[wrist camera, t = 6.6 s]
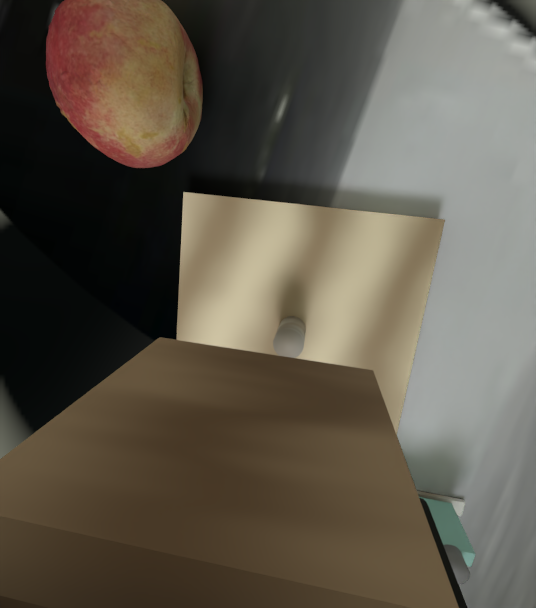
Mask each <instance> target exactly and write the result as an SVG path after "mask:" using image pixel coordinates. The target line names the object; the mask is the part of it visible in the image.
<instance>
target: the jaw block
mask: <svg viewBox="0 0 536 608" xmlns="http://www.w3.org/2000/svg"><path fill="white" fill-rule="evenodd" d="M0 608H459V607H458V604H457V601H456V598H455V596H454V593H453V590H452V587H451V585H450V582H449V579H448V576H447V574H446V571H445V568H444V565H443V562H442V560H441V557H440V554H439V551H438V549H437V546H436V543H435V540H434V538H433V535H432V532H431V529H430V526H429V524H428V521H427V518H426V515H425V513H424V510H423V507H422V504H421V502H420V499H419V496H418V493H417V490H416V488H415V485H414V482H413V479H412V477H411V474H410V471H409V468H408V466H407V463H406V460H405V457H404V454H403V452H402V449H401V446H400V443H399V441H398V438H397V435H396V432H395V430H394V427H393V424H392V421H391V418H390V416H389V413H388V410H387V407H386V405H385V402H384V399H383V396H382V394H381V391H380V388H379V385H378V382H377V380H376V377H375V374H374V371H373V370H369V369H362V368H356V367H349V366H343V365H336V364H330V363H323V362H317V361H310V360H304V359H297V358H291V357H284V356H278V355H271V354H265V353H258V352H252V351H245V350H239V349H232V348H226V347H219V346H213V345H206V344H200V343H193V342H187V341H180V340H174V339H167V338H161V337H160V338H158V339H157V340H156V341H154V342H153V343H152V344H150V345H149V346H148V347H147V348H145V349H144V350H143V351H141V352H140V353H139V354H137V355H136V356H135V357H133V358H132V359H131V360H130V361H128V362H127V363H126V364H124V365H123V366H122V367H120V368H119V369H118V370H117V371H115V372H114V373H113V374H111V375H110V376H109V377H107V378H106V379H105V380H103V381H102V382H101V383H99V384H98V385H97V386H95V387H94V388H93V389H92V390H90V391H89V392H88V393H86V394H85V395H84V396H82V397H81V398H80V399H78V400H77V401H76V402H75V403H73V404H72V405H71V406H69V407H68V408H67V409H65V410H64V411H63V412H61V413H60V414H59V415H57V416H56V417H55V418H54V419H52V420H51V421H50V422H48V423H47V424H46V425H45V426H43V427H42V428H40V429H39V430H38V431H37V432H35V433H34V434H33V435H31V436H30V437H29V438H27V439H26V440H25V441H23V442H22V443H21V444H20V445H18V446H17V447H16V448H14V449H13V450H12V451H10V452H9V453H8V454H6V455H5V456H4V457H2V458H1V459H0Z"/></svg>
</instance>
